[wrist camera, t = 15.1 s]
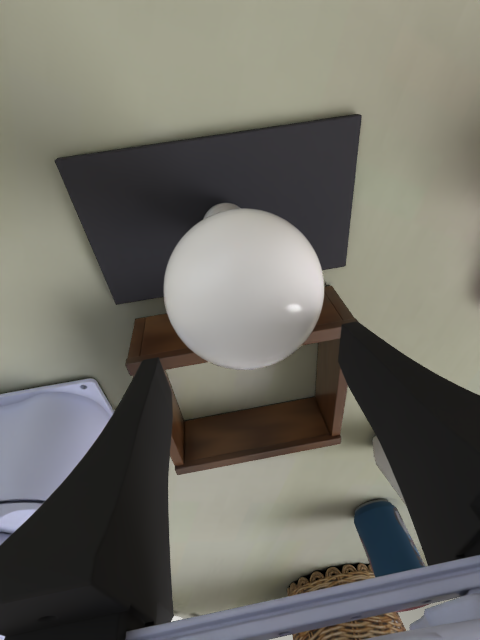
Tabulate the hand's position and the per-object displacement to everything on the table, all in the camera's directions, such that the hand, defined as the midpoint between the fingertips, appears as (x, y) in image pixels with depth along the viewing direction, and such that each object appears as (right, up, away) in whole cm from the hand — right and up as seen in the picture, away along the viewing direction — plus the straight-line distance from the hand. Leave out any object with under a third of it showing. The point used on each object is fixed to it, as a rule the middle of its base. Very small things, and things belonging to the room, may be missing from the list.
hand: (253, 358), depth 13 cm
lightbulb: (-1, +8, +7) cm, 10 cm away
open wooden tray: (0, -2, +15) cm, 15 cm away
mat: (-2, +8, +7) cm, 10 cm away
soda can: (+21, -28, +39) cm, 52 cm away
